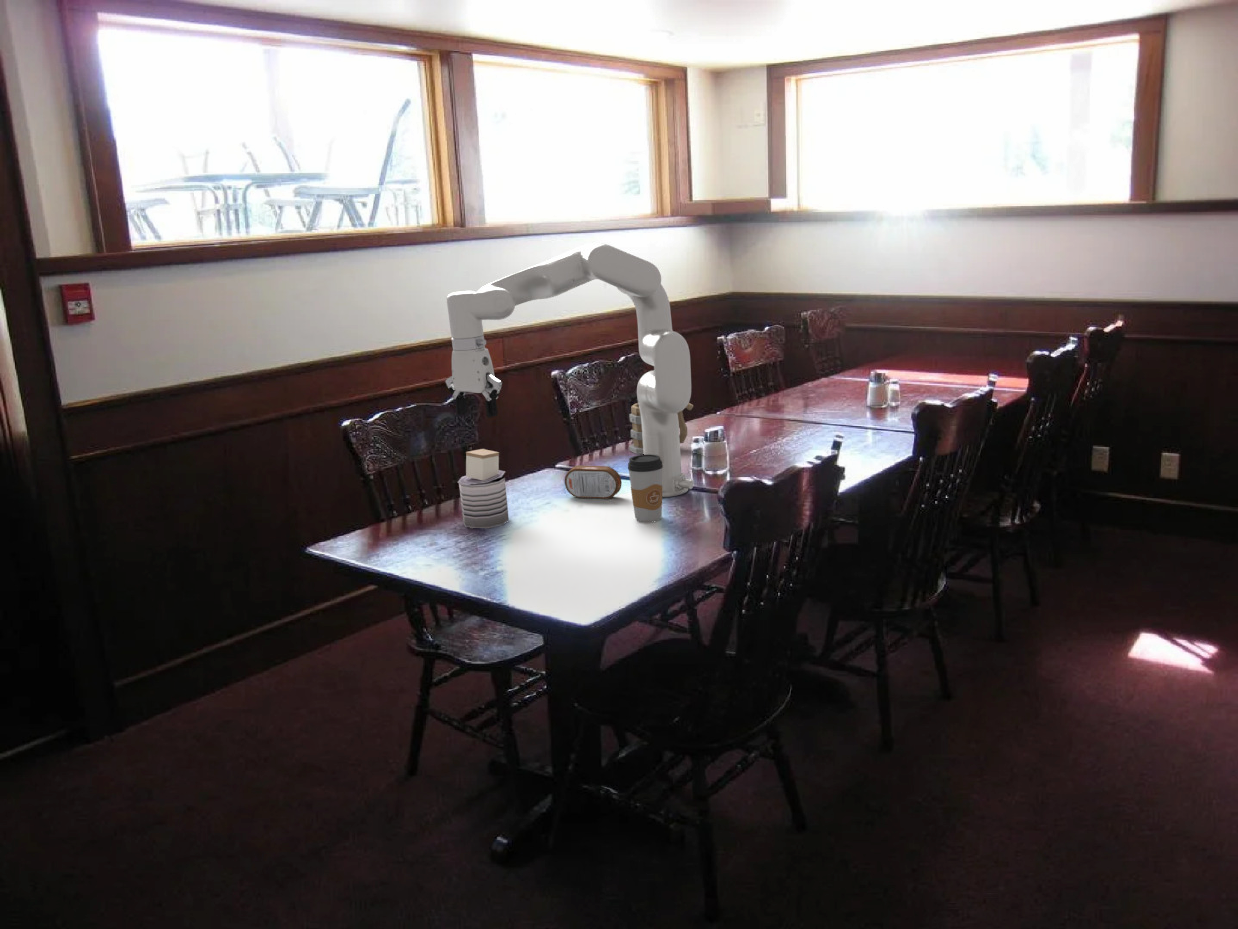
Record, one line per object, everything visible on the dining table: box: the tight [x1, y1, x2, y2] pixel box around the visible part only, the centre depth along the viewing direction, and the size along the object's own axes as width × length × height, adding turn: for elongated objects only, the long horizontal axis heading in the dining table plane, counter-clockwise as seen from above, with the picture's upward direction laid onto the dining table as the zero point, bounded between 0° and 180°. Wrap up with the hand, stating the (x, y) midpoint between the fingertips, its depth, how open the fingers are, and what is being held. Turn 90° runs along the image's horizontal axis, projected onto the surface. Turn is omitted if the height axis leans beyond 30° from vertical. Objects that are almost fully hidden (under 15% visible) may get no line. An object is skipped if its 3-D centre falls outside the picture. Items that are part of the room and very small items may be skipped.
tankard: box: [628, 402, 694, 455], centre depth 321 cm, size 20×13×15 cm, turn 68°
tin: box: [564, 464, 623, 500], centre depth 275 cm, size 15×3×8 cm, turn 71°
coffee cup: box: [627, 454, 663, 523], centre depth 253 cm, size 8×8×15 cm
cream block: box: [465, 448, 500, 480], centre depth 258 cm, size 6×6×6 cm
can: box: [456, 469, 510, 529], centre depth 260 cm, size 11×11×12 cm
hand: (477, 415), depth 255 cm, fingers open, 9 cm apart
